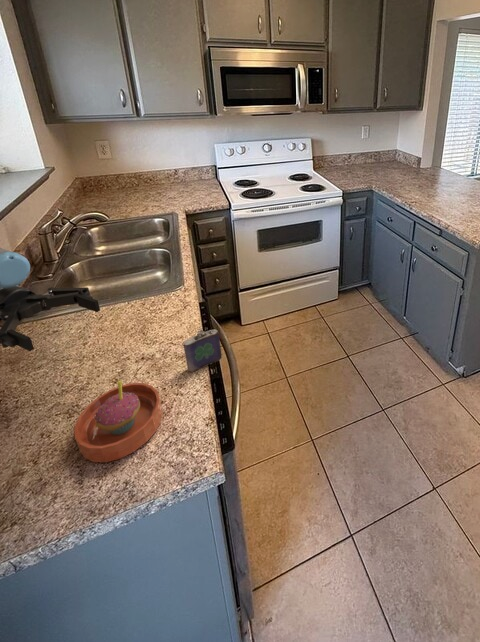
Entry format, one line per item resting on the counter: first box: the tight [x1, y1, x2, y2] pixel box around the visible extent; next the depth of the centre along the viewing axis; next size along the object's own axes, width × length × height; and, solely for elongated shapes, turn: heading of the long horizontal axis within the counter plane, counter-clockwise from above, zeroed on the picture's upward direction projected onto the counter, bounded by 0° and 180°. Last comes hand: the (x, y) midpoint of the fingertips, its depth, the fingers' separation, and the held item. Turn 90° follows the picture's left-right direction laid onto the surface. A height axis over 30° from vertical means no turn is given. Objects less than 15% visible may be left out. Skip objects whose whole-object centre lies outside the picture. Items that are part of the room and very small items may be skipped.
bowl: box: [74, 382, 163, 463], centre depth 78 cm, size 16×16×4 cm
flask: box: [182, 328, 223, 373], centre depth 95 cm, size 9×3×11 cm, turn 125°
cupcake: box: [95, 376, 140, 435], centre depth 77 cm, size 9×8×12 cm
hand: (66, 323), depth 75 cm, fingers open, 13 cm apart
